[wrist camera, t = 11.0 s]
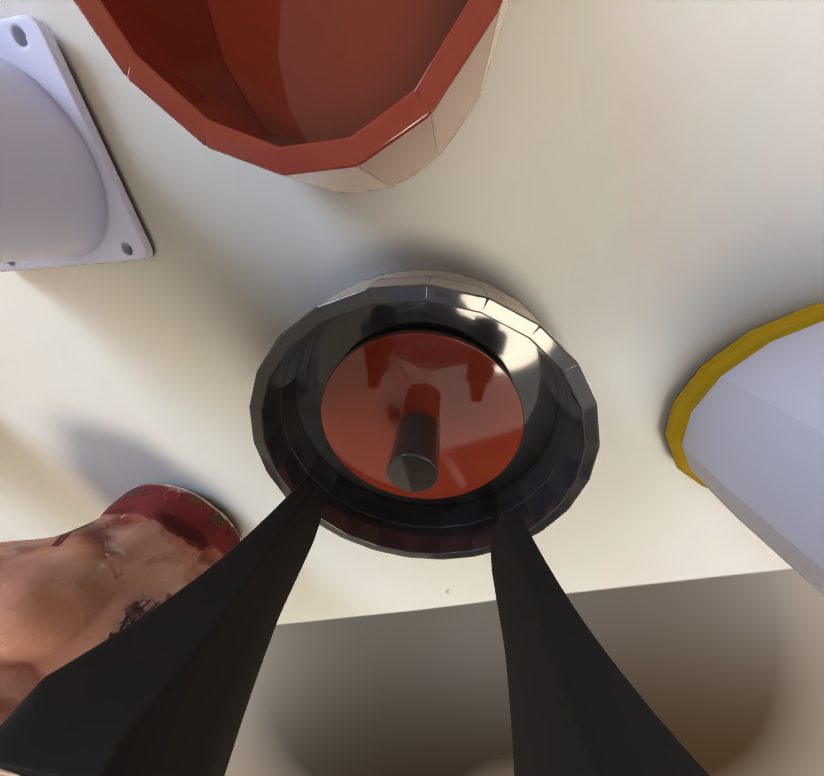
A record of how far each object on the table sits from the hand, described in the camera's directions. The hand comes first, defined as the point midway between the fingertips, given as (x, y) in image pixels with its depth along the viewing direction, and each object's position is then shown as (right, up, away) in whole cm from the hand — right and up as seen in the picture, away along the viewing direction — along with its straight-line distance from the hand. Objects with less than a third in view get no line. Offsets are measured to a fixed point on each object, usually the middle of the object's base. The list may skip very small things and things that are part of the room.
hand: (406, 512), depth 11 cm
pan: (+1, +3, +6) cm, 7 cm away
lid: (+1, +3, +5) cm, 6 cm away
